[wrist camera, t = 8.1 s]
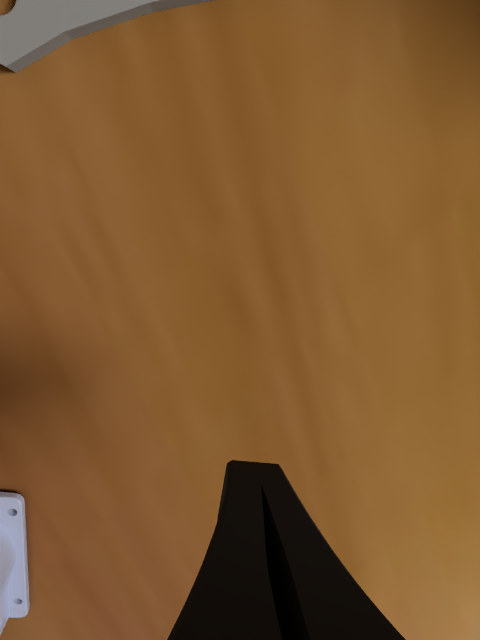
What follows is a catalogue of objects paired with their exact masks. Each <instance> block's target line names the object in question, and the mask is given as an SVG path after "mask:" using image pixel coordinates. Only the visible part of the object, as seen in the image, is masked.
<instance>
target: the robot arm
mask: <svg viewBox="0 0 480 640" xmlns="http://www.w3.org/2000/svg"><path fill="white" fill-rule="evenodd" d="M13 509H15V510H13ZM29 608H30V605H29V584H28V563H27V542H26V521H25V501H24V498H23V497H22V496H21V495H20V494H17V493H8V492H0V635H1V633H2V631H3V629H4V626H5V624H6V622H7V620H8V618H9V617H12V618H22V617H24V616H26V615H27V613H28V611H29ZM167 640H405V638H404V637H403V636H402V635H401V634H400V633H399V632H398V631H397V630H396V629H395V628H394V626H393V625H392V624H391V623H390V622H389V621H388V620H387V619H386V617H385V616H384V615H383V614H382V613H381V612H380V610H379V609H378V608H377V607H376V606H375V604H374V603H373V602H372V601H371V600H370V598H369V597H368V596H367V595H366V594H365V592H364V591H363V590H362V589H361V587H360V586H359V585H358V584H357V582H356V581H355V580H354V578H353V577H352V576H351V574H350V573H349V572H348V571H347V569H346V568H345V566H344V565H343V564H342V562H341V561H340V560H339V558H338V557H337V556H336V554H335V553H334V551H333V550H332V549H331V547H330V546H329V544H328V543H327V541H326V540H325V538H324V537H323V535H322V534H321V532H320V531H319V529H318V528H317V526H316V525H315V523H314V522H313V520H312V519H311V517H310V516H309V514H308V513H307V511H306V509H305V508H304V506H303V504H302V503H301V501H300V499H299V498H298V496H297V495H296V493H295V491H294V489H293V488H292V486H291V484H290V483H289V481H288V479H287V477H286V475H285V474H284V472H283V470H282V468H281V467H280V466H279V464H271V463H259V462H247V461H236V460H232V461H230V462H228V463H227V466H226V472H225V478H224V484H223V490H222V495H221V501H220V507H219V513H218V521H217V525H216V528H215V531H214V534H213V536H212V539H211V542H210V544H209V547H208V550H207V553H206V555H205V558H204V561H203V563H202V566H201V568H200V571H199V573H198V575H197V578H196V580H195V582H194V585H193V587H192V589H191V591H190V594H189V596H188V598H187V600H186V602H185V605H184V607H183V609H182V611H181V613H180V615H179V617H178V619H177V621H176V623H175V625H174V627H173V629H172V631H171V633H170V635H169V637H168V639H167Z"/></svg>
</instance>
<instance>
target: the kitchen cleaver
mask: <svg viewBox="0 0 480 640" xmlns="http://www.w3.org/2000/svg"><path fill="white" fill-rule="evenodd" d="M208 1H213V0H16V3H15V6H14V7H13V9H12V11H10V12H9V13H8V14H6V15H2V16H0V64H2V65H4V66H5V67H7V68H9V69H10V70H12V71H14V72H15V73H17V72H19V71H20V70H22V69H24V68H25V67H27V66H29V65H30V64H32V63H34V62H35V61H37V60H39V59H40V58H42V57H44V56H45V55H47V54H49V53H50V52H52V51H54V50H55V49H57V48H59V47H60V46H62V45H64V44H65V43H67V42H69V41H70V40H72V39H75V38H78V37H81V36H84V35H87V34H90V33H93V32H95V31H98V30H101V29H104V28H107V27H110V26H113V25H116V24H119V23H122V22H125V21H128V20H131V19H134V18H137V17H140V16H142V15H145V14H148V13H151V12H155V11H161V10H166V9H171V8H176V7H182V6H187V5H192V4H197V3H203V2H208Z"/></svg>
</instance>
